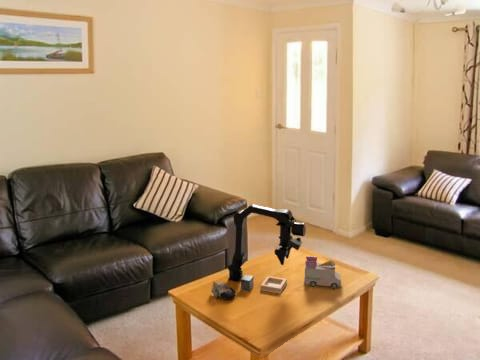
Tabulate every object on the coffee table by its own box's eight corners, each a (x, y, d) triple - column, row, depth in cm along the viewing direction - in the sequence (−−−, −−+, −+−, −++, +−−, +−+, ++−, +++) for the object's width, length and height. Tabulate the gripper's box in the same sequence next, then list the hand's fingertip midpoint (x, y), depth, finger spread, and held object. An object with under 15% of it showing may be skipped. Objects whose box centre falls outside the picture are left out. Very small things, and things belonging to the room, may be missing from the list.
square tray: (260, 290, 248) (260, 285, 247) (267, 280, 259) (267, 275, 258) (280, 293, 244) (280, 288, 243) (286, 283, 255) (286, 279, 254)
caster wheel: (236, 302, 240) (219, 304, 235) (227, 289, 249) (210, 291, 244) (239, 291, 238) (222, 293, 233) (229, 279, 247) (212, 280, 242)
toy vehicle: (340, 291, 246) (342, 264, 243) (303, 287, 250) (304, 261, 247) (340, 283, 255) (341, 257, 252) (304, 280, 259) (305, 254, 255)
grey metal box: (240, 289, 249) (240, 279, 247) (244, 284, 254) (244, 274, 253) (249, 291, 247) (249, 280, 245) (253, 286, 252) (253, 276, 251)
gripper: (295, 241, 233) (295, 270, 236) (304, 229, 249) (303, 257, 253) (274, 239, 236) (274, 267, 240) (284, 227, 253) (284, 254, 257)
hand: (284, 261), depth 248 cm, fingers open, 9 cm apart
